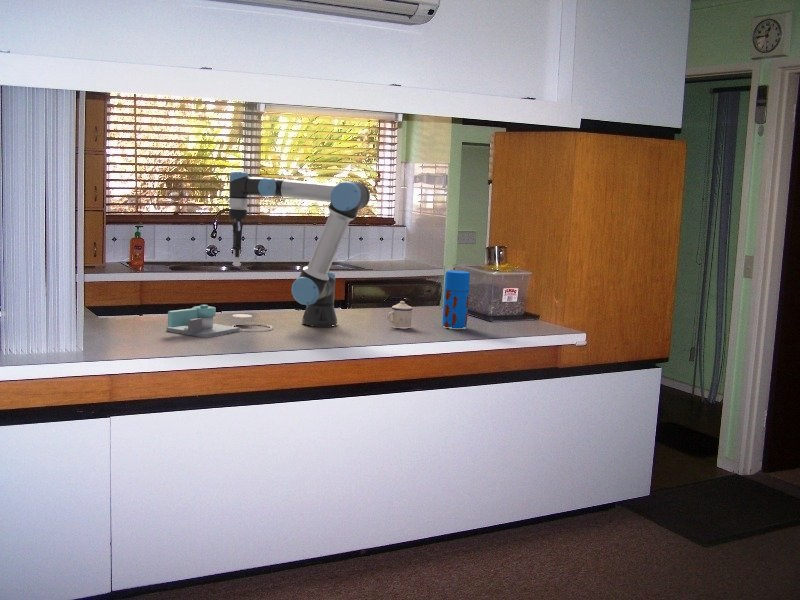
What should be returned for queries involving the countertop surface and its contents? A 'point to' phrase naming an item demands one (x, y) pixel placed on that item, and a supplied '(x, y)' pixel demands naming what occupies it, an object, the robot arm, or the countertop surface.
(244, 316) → the hand towel holder
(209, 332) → the post board
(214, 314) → the domed saucepan
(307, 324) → the robot arm
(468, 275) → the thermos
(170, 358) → the countertop surface
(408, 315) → the teacup with lid
